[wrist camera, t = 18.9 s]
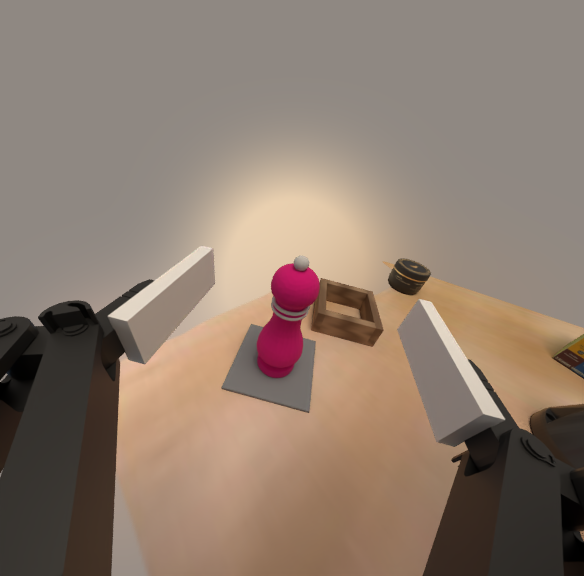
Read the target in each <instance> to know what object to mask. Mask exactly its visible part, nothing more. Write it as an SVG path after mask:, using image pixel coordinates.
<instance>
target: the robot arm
mask: <svg viewBox="0 0 584 576" xmlns="http://www.w3.org/2000/svg"><path fill="white" fill-rule="evenodd" d="M214 284H215V275H214V255H213V248H210V247H205V246H200V247H199V248H198V249H196V250H195V251H194V252H192V253H191V254H190V255H188V256H187V257H186V258H184V259H183V260H182V261H180V262H179V263H178V264H177V265H175V266H174V267H172V268H171V269H170V270H168V271H167V272H166V273H164V274H163V275H162V276H160V277H159V278H158V279H157V280H155V281H154V280H147V281H144V282H142V283H139V284H137V285H136V286H134V287H133V288H132V289H130V290H129V292H126V293H124V294H123V295H122V297H119V298H117V299H116V300H115V301H113V302H112V303H110V304H109V305H107V306H106V307H105V308H103V309H102V310H100V311H99V312H97V313H96V314H94V312H93V310H92V308H91V306H90V304H88V303H87V302H84V301H67V302H63V303H59V304H57V305H54V306H52V307H49V308H48V309H46V310H45V311H43V312H42V313H41V314H40V315H39V316H38V319H39V320H40V321H41V323H42V324H43V325H44V326H34V325H33V323H32V322H31V321H30V320H29V319H28V318H25V317H8V318H4V319H0V380H1V379H2V377H3V376H4V375H5V374H6V373H7V374H8V375H7V376H6V378H5V379H4V380H3V381H1V382H0V473H1V471H2V470H3V471H2V474H1V477H0V576H111V566H112V564H111V563H112V542H113V519H114V495H115V472H116V448H117V424H118V401H119V377H120V361H119V357H120V356H121V355H122V354H123V353H124V352H125V353H126V355H127V357H128V359H129V360H130V361H134V362H138V363H142V364H146V363H147V362H148V360H149V359H150V358H151V357H152V356H153V355H154V353H155V352H156V351H157V350H158V349H159V348H160V347H161V345H162V344H163V343H164V342H165V341H166V340H167V338H168V337H169V336H170V335H171V334H172V333H173V331H174V330H175V329H176V328H177V327H178V326H179V325H180V323H181V322H182V321H183V320H184V319H185V318H186V316H187V315H188V314H189V313H190V312H191V311H192V310H193V308H194V307H195V306H196V305H197V304H198V303H199V301H200V300H201V299H202V298H203V297H204V296H205V295H206V293H207V292H208V291H209V290H210V288H212V286H213V285H214ZM397 330H398V333H399V336H400V339H401V341H402V344H403V347H404V350H405V353H406V356H407V359H408V361H409V364H410V367H411V370H412V373H413V376H414V379H415V381H416V384H417V387H418V390H419V393H420V396H421V399H422V402H423V404H424V407H425V410H426V413H427V416H428V419H429V422H430V424H431V427H432V430H433V433H434V436H435V439H436V442H439V443H442V444H446V445H450V446H454V447H455V446H457V445H459V444H461V443H462V442H464V441H465V444H466V446H467V448H468V450H467V451H465V452H463V453H461V454H459V455H457V456H455V457H453V458H452V460H451V461H452V462H453V463H454V462H457V461H459V460H461V462H460V465H459V466H458V467H459V468H458V471H457V474H456V477H455V480H454V483H453V486H452V489H451V492H450V495H449V498H448V501H447V504H446V507H445V510H444V513H443V516H442V519H441V522H440V525H439V528H438V531H437V534H436V537H435V540H434V543H433V546H432V549H431V552H430V555H429V558H428V561H427V564H426V567H425V570H424V573H423V576H584V541H583V539H582V537H581V534H580V531H584V404H579V405H568V406H557V407H549V408H545V409H543V410H541V411H539V412H537V413H535V414H533V415H532V417H531V428H532V431H533V434H534V435H532V434H531V433H529V432H528V431H526V430H523V429H520V428H519V427H518V426H517V424H516V423H515V421H514V420H513V418H512V417H511V415H510V414H509V412H508V411H507V409H506V408H505V406H504V404H503V403H502V401H501V400H500V398H499V397H498V395H497V394H496V392H494V389H493V388H492V386H491V385H490V383H488V380H487V379H486V377H485V376H484V374H483V373H482V371H481V370H480V369H479V368H478V367H477V366H476V365H475V364H474V363H473V362H472V361H471V360H469V359H467V358H466V356H465V355H464V353H463V352H462V350H461V348H460V347H459V345H458V344H457V342H456V340H455V339H454V337H453V336H452V334H451V332H450V331H449V329H448V328H447V326H446V325H445V323H444V321H443V320H442V318H441V317H440V315H439V313H438V312H437V310H436V309H435V307H434V305H433V304H432V302H429V301H425V300H421V299H419V300H418V301H417V302H416V304H415V305H414V307H413V308H412V309H411V311H410V312H409V314H408V315H407V316H406V318H405V319H404V321H403V322H402V323H401V325H400V326H399V328H398V329H397Z"/></svg>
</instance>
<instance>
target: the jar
mask: <svg viewBox="0 0 584 576" xmlns="http://www.w3.org/2000/svg"><path fill="white" fill-rule="evenodd" d="M430 275H431V273H430V271H429V269H427V268H426V267H424V266H423V265H422V264H419V263H417V262H415V261H412V260H409V259H399V260H398V261H397V262H396V264H395V265H394V268H393V269H392V271H391V273H390V275H389V279H388V281H389V284H390V286H391V287H393V288H394V289H395V290H397V291H399V292H401V293H404V294H409V295H412V294H415V293H417V292H418V291H419V290H420V289H421V288H422V286H423V285H424V283H425V282H426V281H427V280H428V278H429V277H430Z"/></svg>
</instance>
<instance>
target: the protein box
mask: <svg viewBox="0 0 584 576" xmlns="http://www.w3.org/2000/svg"><path fill="white" fill-rule="evenodd" d="M552 358H553V359H555V360H557V361H558V362H560V363H561V364H563V365H564V366H566V367H567V368H569V369H570V370H572V371H573V372H575V373H576V374H578V375H580V376H581V377H583V378H584V334H583V335H581V336H580V337H578V338H577V339H575V340H574V341H572V342H571V343H569V344H568V345H567V346H565V347H564V348H563V349H562V350H560V351H559V352H558V353H557V354H556V355H554V356H553V357H552Z"/></svg>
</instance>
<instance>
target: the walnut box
mask: <svg viewBox="0 0 584 576" xmlns="http://www.w3.org/2000/svg"><path fill="white" fill-rule="evenodd" d="M319 284H320V289H319V294H318V297H317V299H316V300H315V304H314V312H313V321H312V329H311V330H312V331H316V332H320V333H324V334H327V335H331V336H335V337H339V338H342V339H346V340H350V341H353V342H357V343H361V344H365V345H368V346H372V347H373V345H374V344H375V342H376V341H377V339H378V338H379V336H380V335H381V333H382V332H383V327H382V323H381V319H380V316H379V312H378V309H377V305H376V302H375V298H374V295H373V292H372V291H367V290H364V289H360V288H356V287H353V286H349V285H345V284H341V283H338V282H334V281H330V280H326V279H322V278H321V280H320V283H319ZM326 300H327V301H331V302H334V303H338V304H342V305H346V306H350V307H353V308H357V309H359V310H360V316H361V319H358V318H355V317H351V316H347V315H343V314H339V313H336V312H332V311H328V310H326Z"/></svg>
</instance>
